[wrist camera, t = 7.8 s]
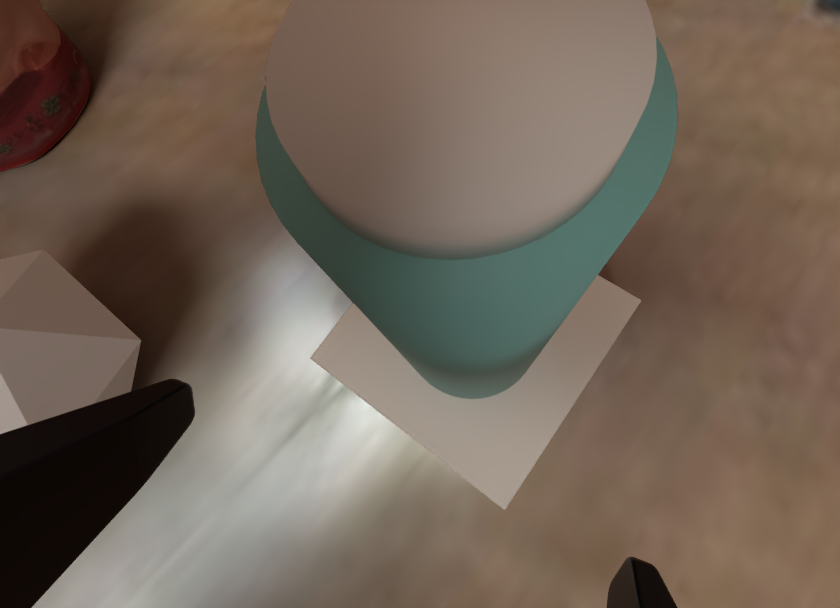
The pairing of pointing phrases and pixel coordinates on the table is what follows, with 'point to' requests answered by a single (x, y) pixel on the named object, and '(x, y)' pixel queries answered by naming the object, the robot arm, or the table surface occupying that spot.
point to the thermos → (465, 164)
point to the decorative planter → (36, 83)
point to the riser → (486, 417)
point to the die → (56, 343)
